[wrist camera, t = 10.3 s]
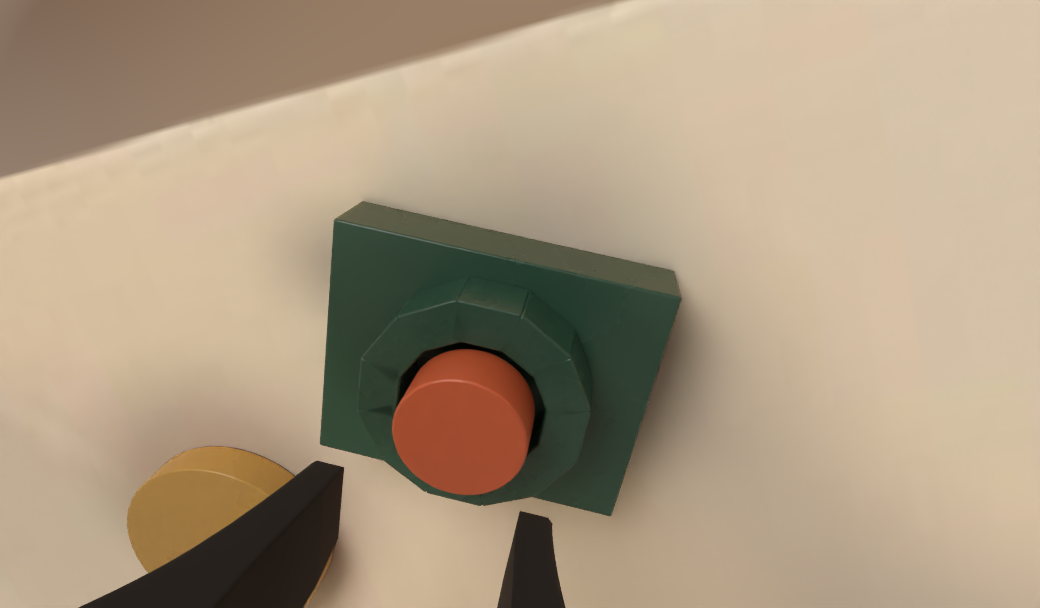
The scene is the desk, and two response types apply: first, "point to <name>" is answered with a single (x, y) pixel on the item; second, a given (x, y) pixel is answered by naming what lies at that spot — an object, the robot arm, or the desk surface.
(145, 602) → the robot arm
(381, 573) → the desk surface
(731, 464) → the desk surface
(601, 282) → the switch box
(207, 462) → the lamp
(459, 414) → the button
